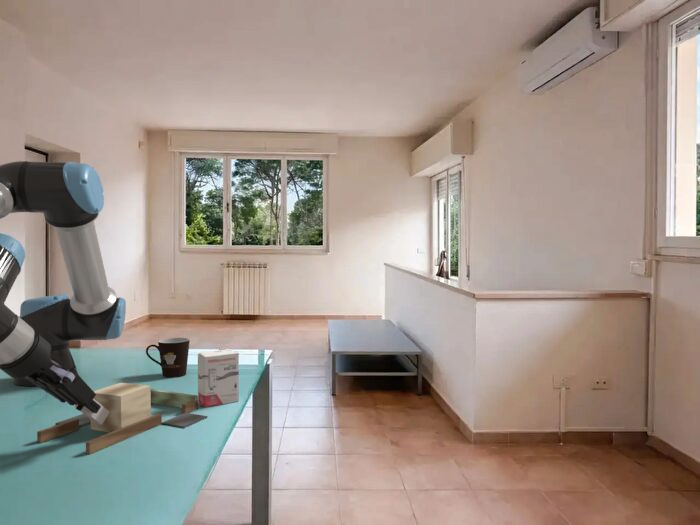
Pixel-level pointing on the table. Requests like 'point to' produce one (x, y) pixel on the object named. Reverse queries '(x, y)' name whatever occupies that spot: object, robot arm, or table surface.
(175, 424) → the channel
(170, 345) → the coffee mug
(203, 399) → the ink box
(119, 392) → the beech block
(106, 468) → the table surface
